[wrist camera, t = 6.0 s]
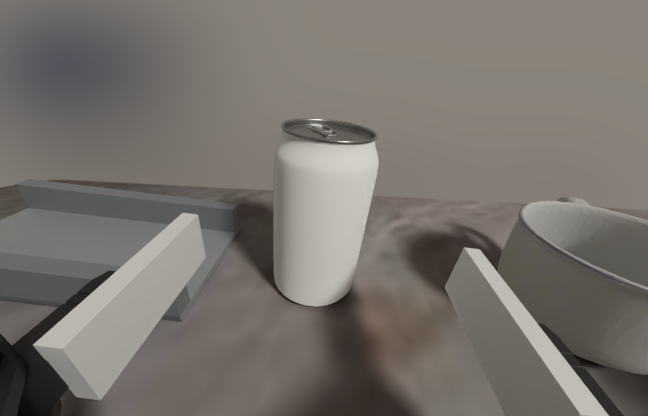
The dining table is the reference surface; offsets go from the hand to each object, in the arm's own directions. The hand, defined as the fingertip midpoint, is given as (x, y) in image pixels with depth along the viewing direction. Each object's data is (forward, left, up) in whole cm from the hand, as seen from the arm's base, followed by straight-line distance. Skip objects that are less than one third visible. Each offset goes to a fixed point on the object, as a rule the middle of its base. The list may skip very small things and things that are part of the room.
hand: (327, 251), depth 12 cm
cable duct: (-19, +5, -7) cm, 21 cm away
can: (-1, +5, -7) cm, 9 cm away
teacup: (+19, +5, -7) cm, 21 cm away
